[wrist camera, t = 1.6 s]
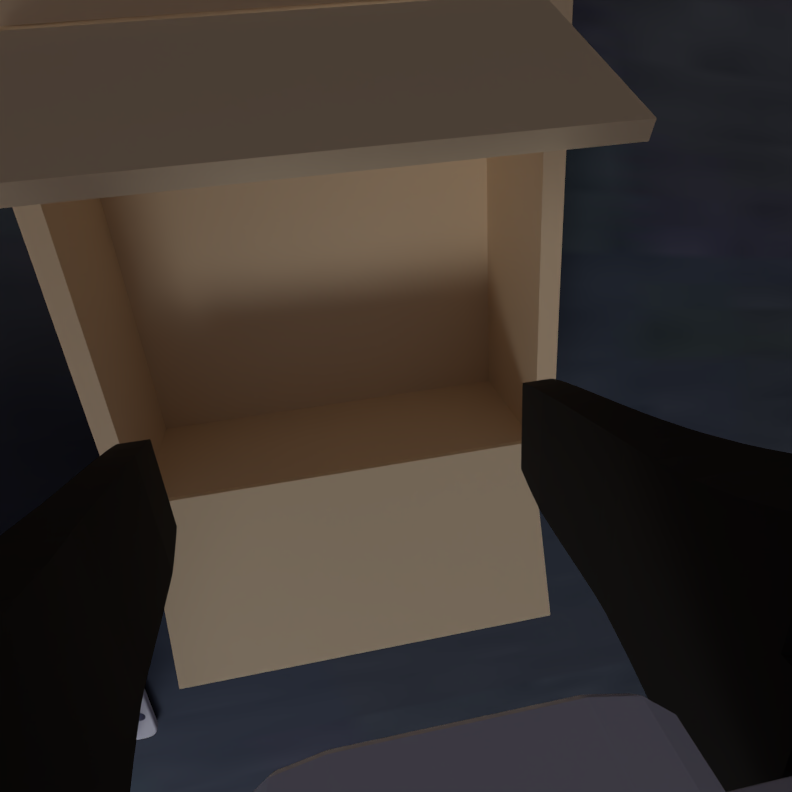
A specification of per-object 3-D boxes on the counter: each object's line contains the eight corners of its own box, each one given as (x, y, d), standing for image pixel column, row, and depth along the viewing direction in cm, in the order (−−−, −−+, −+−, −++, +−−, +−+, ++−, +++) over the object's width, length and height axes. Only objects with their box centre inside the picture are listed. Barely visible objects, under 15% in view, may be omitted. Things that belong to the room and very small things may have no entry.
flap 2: (531, 442, 19) (527, 439, 19) (144, 505, 17) (148, 501, 18) (550, 615, 19) (545, 609, 20) (179, 689, 18) (182, 681, 18)
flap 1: (648, 141, 10) (656, 118, 10) (-75, 216, 9) (-93, 192, 9) (538, 12, 14) (541, -8, 13) (2, 53, 12) (-9, 31, 12)
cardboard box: (501, 389, 24) (552, 455, 20) (154, 441, 22) (124, 527, 18) (501, -12, 18) (574, -47, 14) (28, 21, 16) (-63, -7, 12)
